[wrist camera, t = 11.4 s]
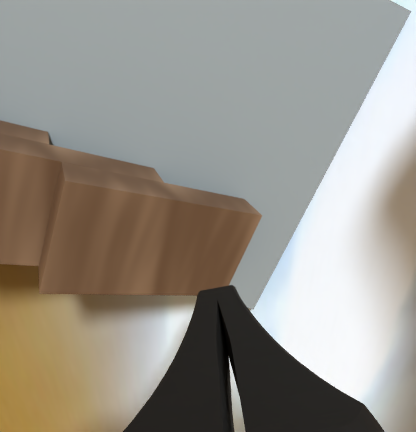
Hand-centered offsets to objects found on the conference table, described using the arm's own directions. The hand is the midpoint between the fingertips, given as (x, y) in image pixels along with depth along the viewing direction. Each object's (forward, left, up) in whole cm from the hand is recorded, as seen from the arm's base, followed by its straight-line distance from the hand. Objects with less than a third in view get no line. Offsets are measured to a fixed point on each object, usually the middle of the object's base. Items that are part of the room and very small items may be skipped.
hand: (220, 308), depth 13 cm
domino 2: (-1, 0, -6) cm, 6 cm away
